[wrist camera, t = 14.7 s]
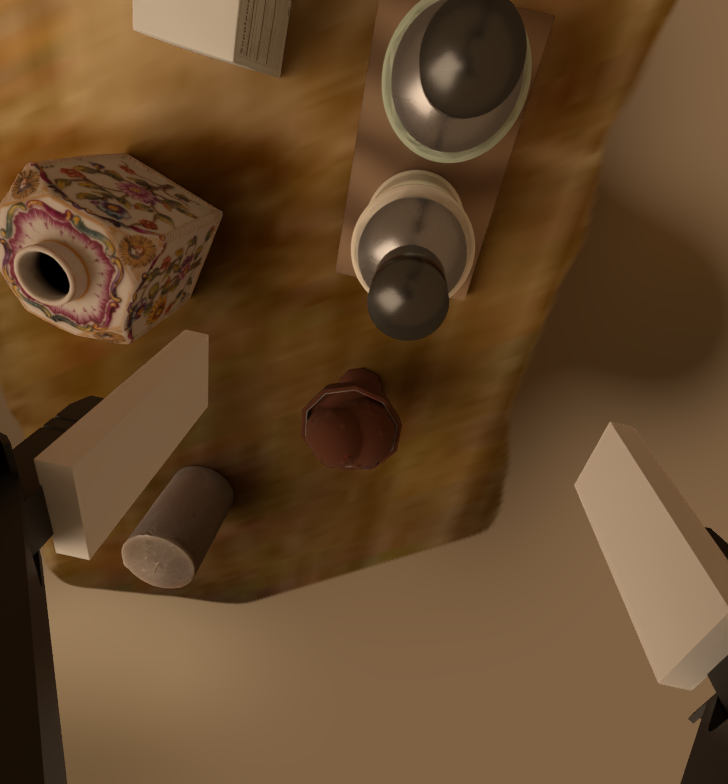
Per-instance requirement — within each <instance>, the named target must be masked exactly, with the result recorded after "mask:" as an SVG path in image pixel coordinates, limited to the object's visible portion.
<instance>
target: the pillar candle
mask: <svg viewBox="0 0 728 784" xmlns="http://www.w3.org/2000/svg"><path fill="white" fill-rule="evenodd" d="M233 503H234V492H233V489H232V487H231V485H230V484H229V482H228V481H227V480H226V479H225V478H224V477H223V476H222V475H221V474H219V473H218V472H216V471H214V470H212V469H209V468H206V467H202V466H189V467H185V468H183V469H181V470H179V471H178V472H177V473H176V474H175V476H174V477H173V478H172V480H171V481H170V483H169V484H168V485H167V486H166V488H165V489H164V491H163V492H162V493H161V494H160V496H159V497H158V499H157V500H156V501H155V503H154V504H153V506H152V507H151V508H150V510H149V511H148V512H147V514H146V515H145V517H144V518H143V519H142V521H141V522H140V523H139V525H138V526H137V527H136V529H135V530H134V532H133V533H132V534H131V536H130V537H129V538H128V540H127V541H126V542H125V543H124V545H123V548H122V557H123V561H124V562H123V563H124V565H125V566H126V567H127V568H129V569H130V571H131V572H132V573H133V574H135V575H136V576H137V577H138V578H140V579H141V580H143V581H145V582H147V583H149V584H151V585H153V586H158V587H162V588H180V587H183V586H185V585H187V584H188V583H189V582H191V581H192V579H193V578H194V576H195V574H196V572H197V570H198V569H199V567H200V565H201V563H202V561H203V559H204V557H205V555H206V553H207V551H208V549H209V547H210V546H211V544H212V542H213V540H214V538H215V536H216V534H217V532H218V530H219V528H220V526H221V525H222V523H223V521H224V519H225V517H226V515H227V512H228V510H229V509H230V508H231V506H232V505H233Z"/></svg>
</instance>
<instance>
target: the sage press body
mask: <svg viewBox="0 0 728 784" xmlns="http://www.w3.org/2000/svg"><path fill="white" fill-rule="evenodd" d="M437 1H439V0H421V1H420V2H418V3H417V4H416V5H415V6H414V7H413V8H412V9H411V10H410V11H409V12H408V13H407V14H406V16H405V17H404V18H403V19H402V21H401V22H400V24H399V25H398V27H397V28H396V30H395V32H394V34H393V36H392V38H391V40H390V43H389V45H388V48H387V51H386V54H385V59H384V63H383V70H382V97H383V103H384V108H385V111H386V114H387V117H388V120H389V122H390V124H391V126H392V128H393V130H394V131H395V133H396V135H397V136H398V137H399V139H400V140H401V141H402V142H403V143H404V144H405V145H406V146H407V147H408V148H409V149H410V150H411V151H413V152H414V153H416V154H417V155H419V156H421V157H423V158H425V159H428V160H431V161H435V162H441V163H456V162H463V161H466V160H470V159H473V158H475V157H477V156H479V155H481V154H483V153H485V152H486V151H488V150H489V149H491V148H492V147H493V146H495V145H496V144H497V143H498V142H499V141H500V140H501V139H502V138H503V137H504V136H505V135H506V134H507V132H508V131H509V130H510V129H511V127H512V126H513V124H514V123H515V121H516V120H517V118H518V116H519V114H520V112H521V110H522V108H523V106H524V103H525V100H526V98H527V94H528V90H529V86H530V80H531V69H532V59H531V49H530V44H529V39H528V36H527V33H526V40H527V52H526V59H525V64H524V75H523V82H522V86H521V90H520V94H519V97H518V100H517V102H516V105H515V107H514V109H513V111H512V113H511V114H510V116H509V117H508V119H507V120H506V122H505V123H504V124H503V126H502V127H501V128H500V129H499V130H498V131H497V132H496V133H495V134H494V135H493V136H492V137H490V138H489V139H488V140H487V141H485V142H483V143H482V144H480V145H478V146H476V147H474V148H472V149H469V150H465V151H461V152H440V151H436V150H433V149H430V148H428V147H426V146H424V145H422V144H421V143H419V142H418V141H416V140H415V139H414V138H413V137H412V136H411V135H410V134H409V133H408V132H407V130H406V129H405V128H404V126H403V124H402V123H401V121H400V119H399V117H398V115H397V112H396V109H395V106H394V102H393V98H392V90H391V74H392V66H393V61H394V57H395V54H396V51H397V48H398V45H399V43H400V41H401V39H402V37H403V35H404V33H405V32H406V30H407V28H408V27H409V26H410V24H411V23H412V22H413V21H414V19H415V18H416V17H417V16H418V15H419V14H420V13H421V12H422V11H423V10H425V9H426V8H428V7H429V6H430V5H432V4H434V3H435V2H437ZM525 32H526V30H525Z"/></svg>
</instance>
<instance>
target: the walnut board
mask: <svg viewBox="0 0 728 784" xmlns="http://www.w3.org/2000/svg"><path fill="white" fill-rule="evenodd" d="M420 1H421V0H379V2H378V8H377V15H376V21H375V27H374V33H373V40H372V46H371V52H370V58H369V65H368V71H367V77H366V83H365V90H364V96H363V102H362V108H361V115H360V121H359V127H358V133H357V140H356V146H355V152H354V158H353V165H352V171H351V177H350V183H349V190H348V196H347V202H346V208H345V215H344V221H343V227H342V233H341V240H340V246H339V252H338V258H337V265H336V271H335V272H337V273H341V274H346V275H350V276H355V277H357V276H356V273H355V271H354V268H353V264H352V258H351V241H352V235H353V231H354V228H355V226H356V223H357V221H358V219H359V217H360V216H361V214H362V213H363V211H364V210H365V208H366V207H367V206H368V205H369V203H370V200H371V199H372V197H373V195H374V193H375V192H376V191H377V189H378V188H379V187H380V186H381V185H382V184H383V183H384V182H385V181H386V180H387V179H389V178H390V177H392V176H394V175H396V174H398V173H400V172H404V171H407V170H426V171H430V172H433V173H435V174H437V175H440V176H441V177H443V178H444V179H445V180H447V181H448V182H449V183H450V184H451V185H452V187H453V188H454V189H455V191H456V192H457V194H458V195H459V198H460V200H461V202H462V206H463V209H464V211H465V212H466V214H467V216H468V218H469V220H470V222H471V225H472V228H473V232H474V237H475V255H474V260H473V265H472V267H471V270H470V273H469V275H468V277H467V278H466V280H465V282H464V283H463V285H462V286H461V287H460V288H459V289H458V291H457V292H456V293H455V294H454V295H452V296H451V297H450V298H453V299H458V300H462V301H464V300H465V297H466V294H467V291H468V288H469V285H470V282H471V278H472V275H473V272H474V269H475V266H476V263H477V260H478V256H479V253H480V250H481V247H482V244H483V241H484V238H485V234H486V231H487V228H488V225H489V222H490V219H491V216H492V212H493V209H494V206H495V203H496V200H497V197H498V194H499V190H500V187H501V184H502V181H503V178H504V175H505V172H506V168H507V165H508V162H509V159H510V156H511V153H512V150H513V146H514V143H515V140H516V137H517V134H518V131H519V128H520V124H521V121H522V118H523V115H524V112H525V109H526V106H527V102H528V99H529V96H530V93H531V90H532V87H533V84H534V80H535V77H536V74H537V71H538V68H539V65H540V62H541V58H542V55H543V52H544V49H545V46H546V43H547V40H548V36H549V33H550V30H551V27H552V24H553V21H554V17H555V16H553V15H549V14H545V13H540V12H536V11H531V10H527V9H522V8H518V7H515V8H516V9H517V10H518V12H519V14H520V16H521V18H522V21H523V24H524V27H525V30H526V33H527V36H528V39H529V44H530V49H531V59H532V69H531V80H530V86H529V90H528V94H527V98H526V100H525V103H524V106H523V108H522V110H521V112H520V114H519V116H518V118H517V120H516V121H515V123H514V124H513V126H512V127H511V129H510V130H509V131H508V132H507V134H506V135H505V136H504V137H503V138H502V139H501V140H500V141H499V142H498V143H497V144H496V145H495V146H493V147H492V148H491V149H489V150H488V151H486V152H485V153H483V154H481V155H479V156H477V157H475V158H473V159H470V160H466V161H463V162H456V163H441V162H435V161H431V160H428V159H425V158H423V157H421V156H419V155H417V154H416V153H414V152H413V151H411V150H410V149H409V148H408V147H407V146H406V145H405V144H404V143H403V142H402V141H401V140H400V139H399V137H398V136H397V135H396V133H395V131H394V130H393V128H392V126H391V124H390V122H389V120H388V117H387V114H386V111H385V108H384V103H383V97H382V70H383V63H384V59H385V54H386V51H387V48H388V45H389V43H390V40H391V38H392V36H393V34H394V32H395V30H396V28H397V27H398V25H399V24H400V22H401V21H402V19H403V18H404V17H405V16H406V14H407V13H408V12H409V11H410V10H411V9H412V8H413V7H414V6H415V5H416V4H417V3H418V2H420Z"/></svg>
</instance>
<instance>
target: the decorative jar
mask: <svg viewBox="0 0 728 784" xmlns="http://www.w3.org/2000/svg"><path fill="white" fill-rule="evenodd" d="M222 216H223V212H222V211H221V210H219V209H217V208H215V207H213V206H212V205H210V204H208V203H207V202H205V201H204V200H202V199H201V198H199V197H197V196H196V195H194V194H192V193H191V192H189V191H188V190H186V189H185V188H183V187H181V186H179V185H178V184H176V183H174V182H173V181H171V180H170V179H168V178H167V177H165V176H163V175H162V174H160V173H158V172H157V171H155V170H153V169H152V168H150V167H149V166H147V165H145V164H143V163H142V162H140V161H138V160H137V159H135V158H133V157H131V156H130V155H128V154H126V153H116V154H97V155H87V156H76V157H70V158H61V159H54V160H46V161H41V162H36V163H33V162H30V163H28V164H27V165H26V166H25V167H24V168H23V171H22V172H21V173H19V174H18V175H17V177H16V179H15V181H14V182H13V184H12V186H11V189H10V191H9V192H8V194H7V195H6V196H5V198H4V199H3V200H2V202H1V203H0V271H1V273H2V275H3V277H4V278H5V280H6V283H7V285H8V286H10V288H11V290H12V291H13V293H14V294H15V295H16V296H17V298H18V299H19V300H20V302H21V303H22V305H23V306H24V307H25V308H26V309H27V310H28V311H29V312H31V313H32V314H34V315H36V316H38V317H40V318H41V319H43V320H45V321H47V322H48V323H50V324H51V325H53V326H56V327H58V328H60V329H63V330H65V331H67V332H70V333H72V334H74V335H78V336H83V337H90V338H95V339H99V340H103V341H107V342H111V343H119V344H130V343H132V342H134V341H135V340H137V339H138V338H140V337H141V336H142V335H144V334H145V333H147V332H148V331H149V330H151V329H152V328H153V327H155V326H156V325H157V324H158V323H160V322H161V321H162V320H164V319H165V318H167V317H168V316H170V315H171V314H172V313H174V312H175V311H176V310H178V308H180V307H181V306H182V305H183V304H184V303H186V302H187V301H188V300H189V299H190V297H191V295H192V293H193V290H194V288H195V285H196V282H197V280H198V277H199V275H200V272H201V270H202V267H203V265H204V262H205V260H206V257H207V255H208V252H209V250H210V247H211V245H212V242H213V239H214V236H215V234H216V231H217V229H218V226H219V224H220V221H221V219H222Z"/></svg>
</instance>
